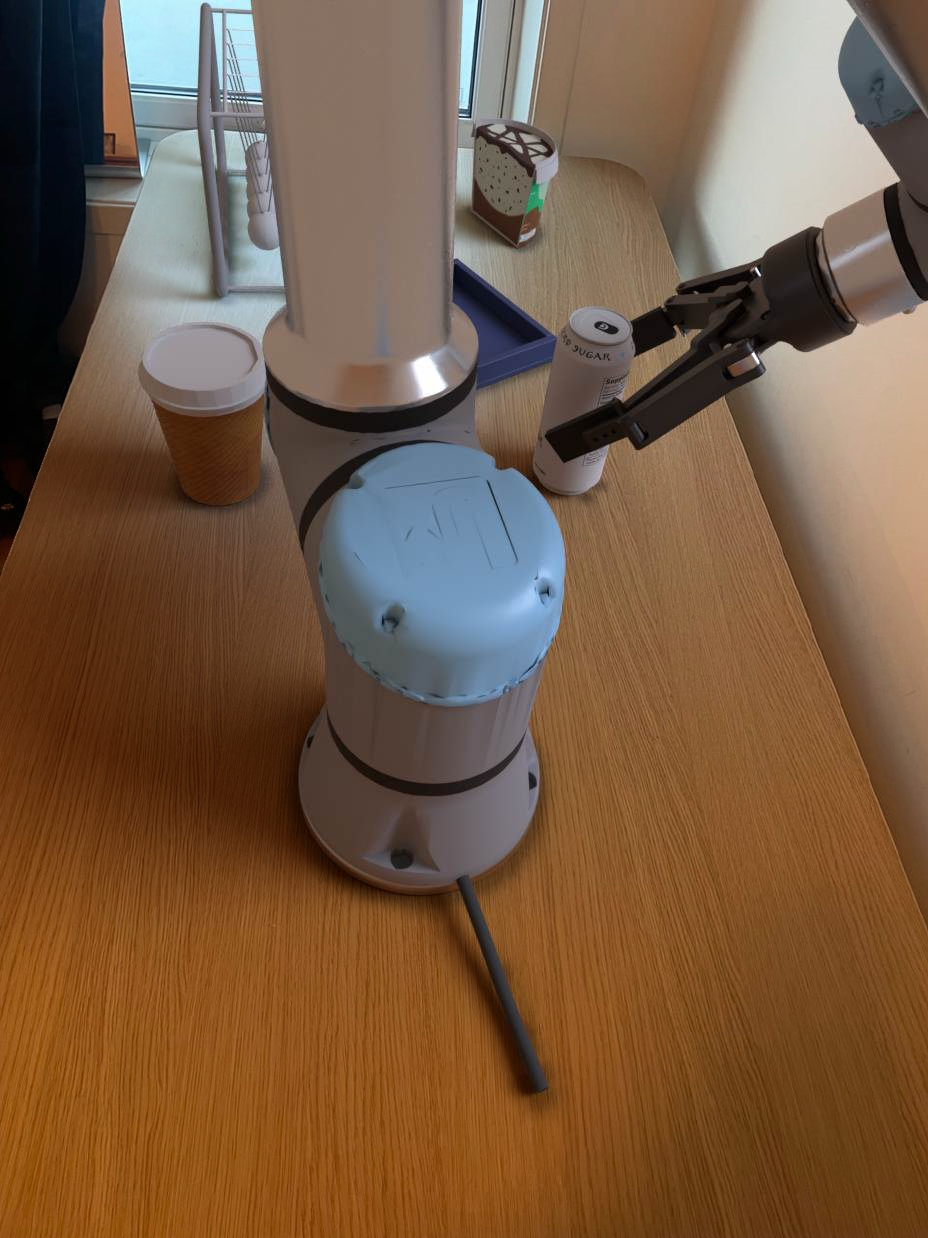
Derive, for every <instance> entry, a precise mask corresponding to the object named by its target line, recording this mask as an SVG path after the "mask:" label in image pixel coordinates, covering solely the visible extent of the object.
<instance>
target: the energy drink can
mask: <svg viewBox="0 0 928 1238" xmlns="http://www.w3.org/2000/svg"><path fill="white" fill-rule="evenodd" d="M630 321H631V320H629V319H628V318H627V317H626V316H625V315H623V314H622V313H620V312H618V311H616V310H613V309H611V308H608V307H603V306H584V307H581V308H578V309H576V310H574V311H573V312H572V313H570V315H569V318H568V322H567V323H566V324H565V325H564V326H563V327H562V328H561V329H560V331H558V334H557V336H556V337H557V341H556V346H555V351H554V356H553V361H551V367H550V372H549V377H548V380H547V381H548V382H547V387H546V392H545V396H544V397H545V398H544V402H543V407H542V412H541V417H540V422H539V426H538V432H537V438H536V442H535V448H534V453H533V458H532V470H533V472H534V474H535V475H536V477H537V479H538V481H539V483H540V484H541V485H542V486H543V487H545V488H546V489H547V490H549V491H550V492H552V493H555V494H558V495H560V496H561V495H563V496H578V495H582V494H584V493H585V492H587V491H588V490H589V489H591V488H593V487H595V485H597V484H598V483H599V481H600V479H601V476H602V473H603V471H604V466H605V462H606V460H607V456H608V452H609V448H610V445H611V444H609V445H607V446H604V447H602V448H600V449H597V450H595V451H592V452H590V453H588V454H585V455H583V456H580V457H578V458H576V459H573V460H571V461H568V462H566V463H563V462H562V460H561V459H560V458H559V456H558V455H557V453H556V452H555V451H554V449H553V448H552V447H551V445H550V444H549V442H548V441H547V440H546V438H545V437H544V435H545V434H546V432H547V430H550V429H552V428H554V427H556V426H558V425H561V424H563V423H565V422H567V421H569V420H572V419H574V418H576V417H578V416H581V415H583V414H585V413H587V412H589V411H592V410H594V409H596V408H598V407H600V406H603V405H605V404H607V403H609V402H611V400H612V399H613V398H614V397H616V398H619V399H620V400H621V401H622V402H623V398H624V394H625V390H626V387H627V383H628V378H629V376H630V372H631V369H632V366H633V365H632V364H633V361H634V358H635V357H634V354H635V345H634V342H633V339H632V336H631V335H632V331H633V329H632V325H631V323H630Z"/></svg>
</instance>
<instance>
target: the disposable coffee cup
mask: <svg viewBox="0 0 928 1238" xmlns="http://www.w3.org/2000/svg"><path fill="white" fill-rule="evenodd" d="M137 376H138V377H137V378H138V381H139V384H140V386H141V388H142V389H143V390H144V391H145V393H146V394H147V396H148V397H149V398H150V400H151V403H152V406H153V409H154V412H155V414H156V417H157V421H158V423H159V425H160V429H161V432H162V434H163V437H164V440H165V442H166V446H167V449H168V452H169V454H170V457H171V460H172V463H173V465H174V469H175V471H176V475H177V477H178V481H179V484H180V486H181V489H182V491H183V492H184V494H185V495H186V496H188V497H189V498H190V499H191V500H193V501H195V502H197V503H200V504H203V505H208V506H229V505H233V504H237V503H239V502H241V501H245V499H247V498H249V497H250V496H251V495H252V494H253V493H255V491H256V490H257V489H258V486H259V484H260V471H261V458H262V457H261V456H262V446H263V445H262V443H263V431H264V430H263V429H264V402H265V395H264V391H265V380H266V369H265V362H264V356H263V348H262V343H261V342H260V341H259V340H258V339H257V338H256V337H255V336H254V335H253V334H251V333H250V332H248V331H246V330H244V329H243V328H241V327H237V326H235V325H232V324H229V323H224V322H223V323H222V322H217V321H193V322H186V323H183V324H178V325H173V326H172V327H171V326H170V327H169V328H166V329H164V330H161V331H160V332H159V333H157V334H156V335H154V336H153V337H152V338H151V339H150V340H149V341H148V342H147V344H146V345H145V346H144V348H143V351H142V356H141V360H140V362H139V365H138V369H137Z"/></svg>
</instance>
